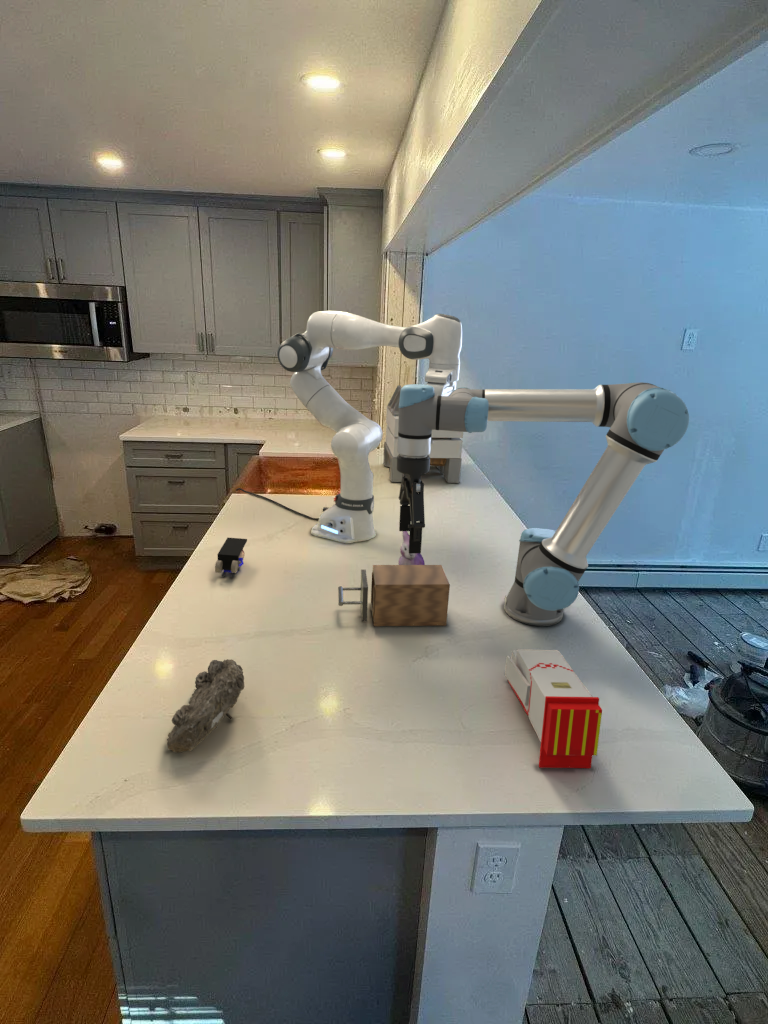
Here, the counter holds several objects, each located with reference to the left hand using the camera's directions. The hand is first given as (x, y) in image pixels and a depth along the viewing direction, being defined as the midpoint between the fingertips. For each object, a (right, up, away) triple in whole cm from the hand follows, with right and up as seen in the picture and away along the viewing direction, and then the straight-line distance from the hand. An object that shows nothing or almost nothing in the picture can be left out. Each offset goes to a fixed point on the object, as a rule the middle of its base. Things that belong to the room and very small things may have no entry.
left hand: (440, 421), depth 169 cm
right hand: (-11, -34, -33) cm, 49 cm away
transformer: (+1, -8, +106) cm, 107 cm away
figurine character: (-61, -44, -1) cm, 76 cm away
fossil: (-49, -66, -60) cm, 102 cm away
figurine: (-9, -46, 0) cm, 47 cm away
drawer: (-17, -53, -22) cm, 60 cm away
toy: (+15, -68, -56) cm, 89 cm away
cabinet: (-11, -54, -21) cm, 59 cm away
